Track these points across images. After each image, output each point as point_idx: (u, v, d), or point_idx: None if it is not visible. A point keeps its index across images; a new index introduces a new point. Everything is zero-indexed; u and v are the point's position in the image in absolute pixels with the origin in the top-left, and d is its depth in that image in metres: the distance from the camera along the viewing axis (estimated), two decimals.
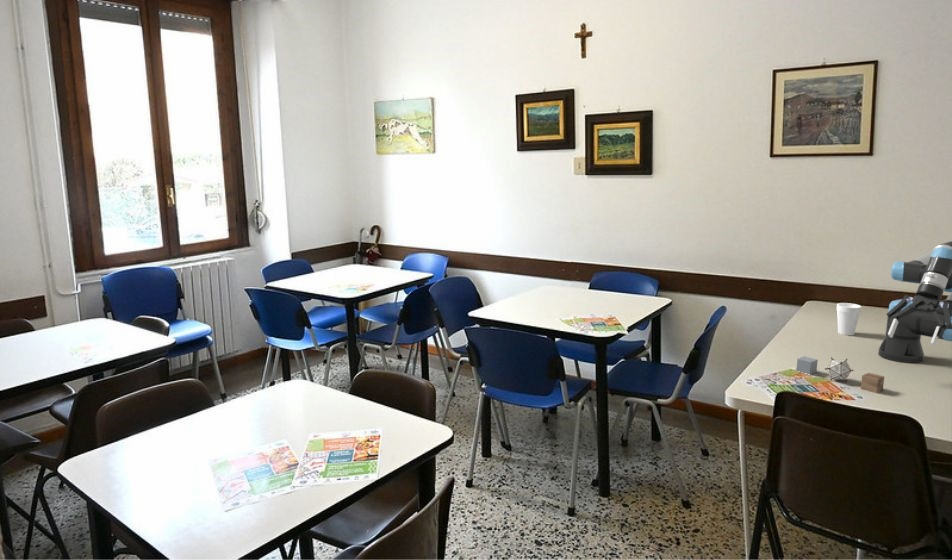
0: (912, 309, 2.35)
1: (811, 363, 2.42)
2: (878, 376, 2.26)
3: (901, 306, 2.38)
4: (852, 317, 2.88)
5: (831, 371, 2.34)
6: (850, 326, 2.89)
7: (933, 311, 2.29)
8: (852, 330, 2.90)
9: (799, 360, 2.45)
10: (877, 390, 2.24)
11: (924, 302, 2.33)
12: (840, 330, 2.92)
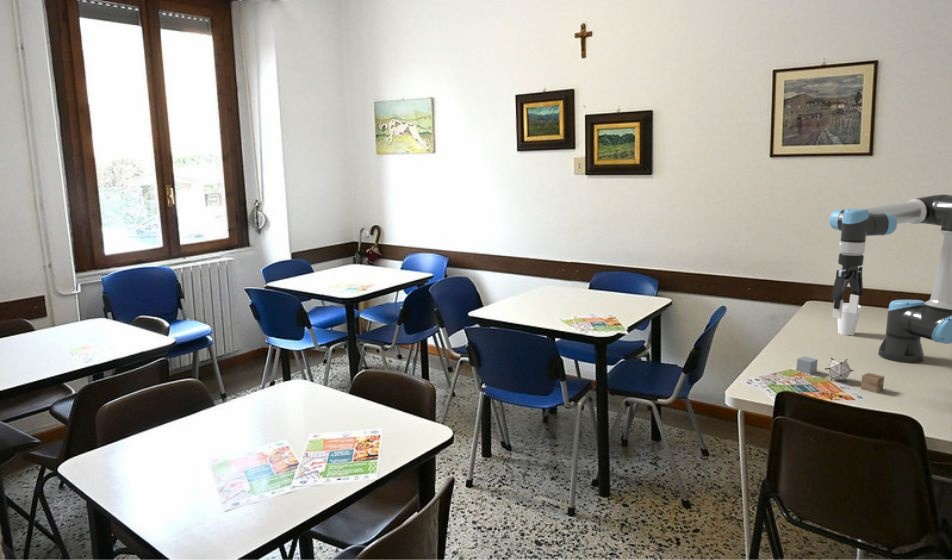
0: (852, 280, 2.31)
1: (811, 363, 2.42)
2: (878, 376, 2.26)
3: None
4: (852, 317, 2.88)
5: (831, 371, 2.34)
6: (850, 326, 2.89)
7: None
8: (852, 330, 2.90)
9: (799, 360, 2.45)
10: (877, 390, 2.24)
11: None
12: (840, 330, 2.92)
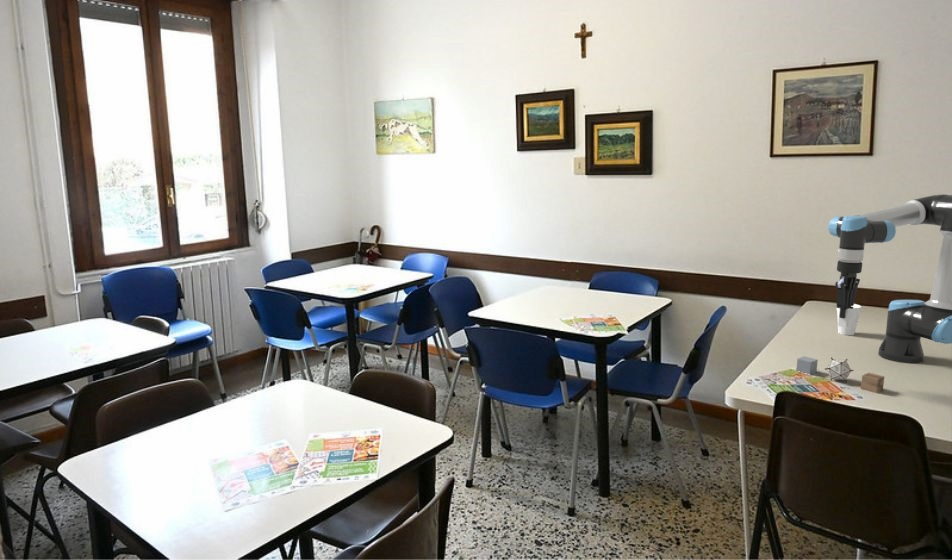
0: None
1: (811, 363, 2.42)
2: (878, 376, 2.26)
3: None
4: (852, 317, 2.88)
5: (831, 371, 2.34)
6: (850, 326, 2.89)
7: None
8: (852, 330, 2.90)
9: (799, 360, 2.45)
10: (877, 390, 2.24)
11: None
12: (840, 330, 2.92)
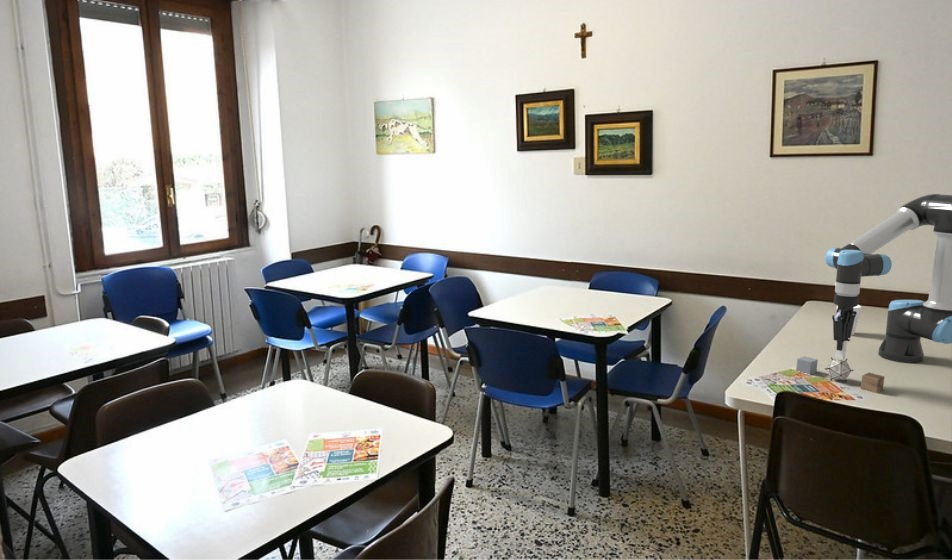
0: None
1: (811, 363, 2.42)
2: (878, 376, 2.26)
3: None
4: None
5: (831, 371, 2.34)
6: None
7: None
8: (852, 330, 2.90)
9: (799, 360, 2.45)
10: (877, 390, 2.24)
11: None
12: None
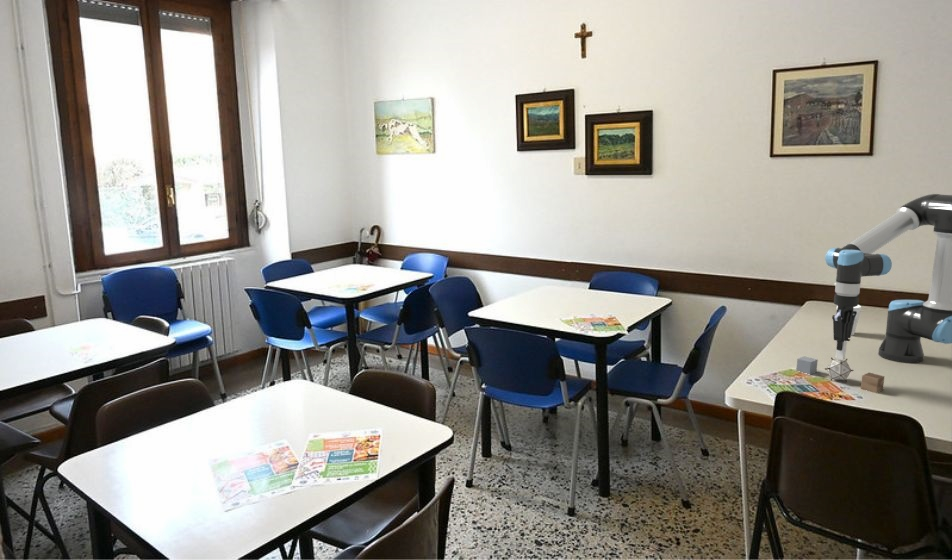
0: None
1: (811, 363, 2.42)
2: (878, 376, 2.26)
3: None
4: None
5: (831, 371, 2.34)
6: None
7: None
8: (852, 330, 2.90)
9: (799, 360, 2.45)
10: (877, 390, 2.24)
11: None
12: None
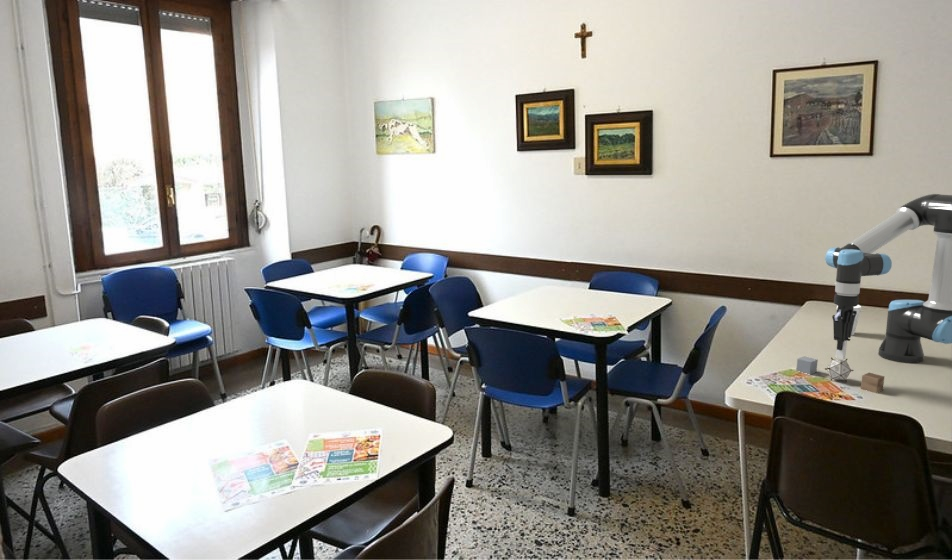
0: None
1: (811, 363, 2.42)
2: (878, 376, 2.26)
3: None
4: None
5: (831, 371, 2.34)
6: None
7: None
8: (852, 330, 2.90)
9: (799, 360, 2.44)
10: (877, 390, 2.24)
11: None
12: None
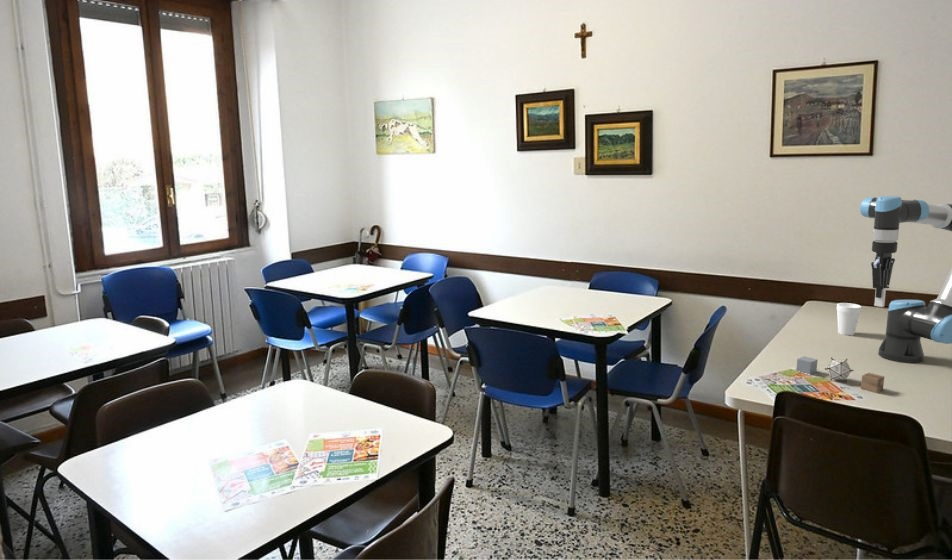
0: None
1: (811, 363, 2.42)
2: (878, 376, 2.26)
3: None
4: (852, 317, 2.88)
5: (831, 371, 2.34)
6: (850, 326, 2.89)
7: None
8: (852, 330, 2.90)
9: (799, 360, 2.45)
10: (877, 390, 2.24)
11: None
12: (840, 330, 2.92)
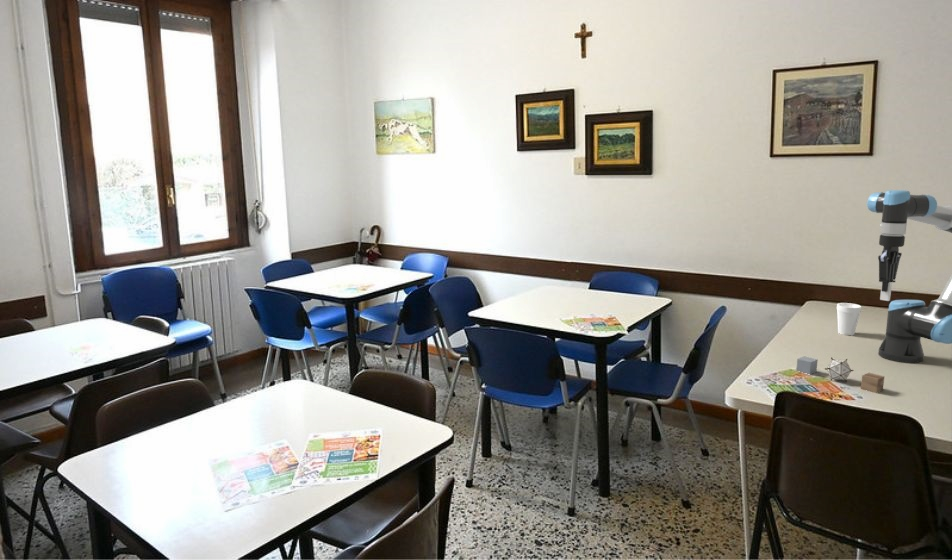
0: None
1: (811, 363, 2.42)
2: (878, 376, 2.26)
3: None
4: (852, 317, 2.88)
5: (831, 371, 2.34)
6: (850, 326, 2.89)
7: None
8: (852, 330, 2.90)
9: (799, 360, 2.44)
10: (877, 390, 2.24)
11: None
12: (840, 330, 2.92)
